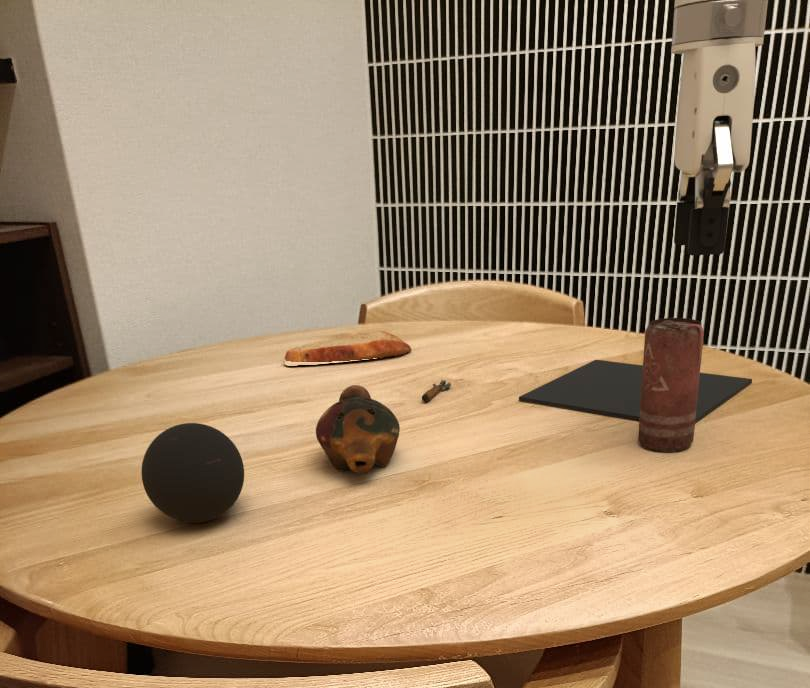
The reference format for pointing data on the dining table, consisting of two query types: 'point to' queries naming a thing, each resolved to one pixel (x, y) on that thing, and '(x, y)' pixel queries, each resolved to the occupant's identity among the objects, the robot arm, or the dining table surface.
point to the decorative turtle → (358, 431)
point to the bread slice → (350, 348)
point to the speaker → (192, 472)
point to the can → (670, 384)
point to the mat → (623, 390)
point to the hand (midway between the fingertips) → (697, 247)
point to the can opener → (435, 390)
